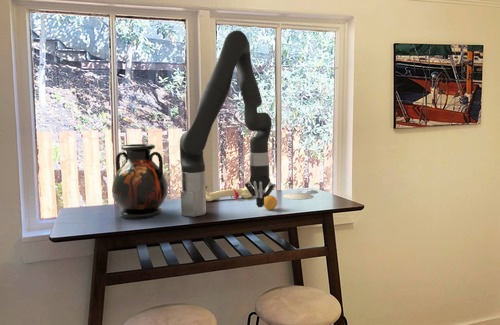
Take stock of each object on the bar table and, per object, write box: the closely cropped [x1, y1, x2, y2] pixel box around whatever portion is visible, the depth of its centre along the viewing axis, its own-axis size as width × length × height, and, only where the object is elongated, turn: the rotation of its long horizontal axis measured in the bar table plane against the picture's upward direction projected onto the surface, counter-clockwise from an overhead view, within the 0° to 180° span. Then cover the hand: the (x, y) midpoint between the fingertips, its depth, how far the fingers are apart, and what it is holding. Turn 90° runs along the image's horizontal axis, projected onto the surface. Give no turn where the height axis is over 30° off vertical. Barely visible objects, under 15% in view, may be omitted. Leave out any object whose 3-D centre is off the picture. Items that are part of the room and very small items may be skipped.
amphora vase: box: [111, 143, 169, 220], centre depth 170 cm, size 22×22×28 cm
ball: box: [263, 194, 278, 211], centre depth 178 cm, size 6×6×6 cm
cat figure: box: [205, 184, 254, 202], centre depth 199 cm, size 10×9×25 cm
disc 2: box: [296, 189, 318, 195], centre depth 214 cm, size 10×10×1 cm
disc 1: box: [283, 192, 314, 200], centre depth 204 cm, size 14×14×1 cm
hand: (260, 206), depth 170 cm, fingers closed
